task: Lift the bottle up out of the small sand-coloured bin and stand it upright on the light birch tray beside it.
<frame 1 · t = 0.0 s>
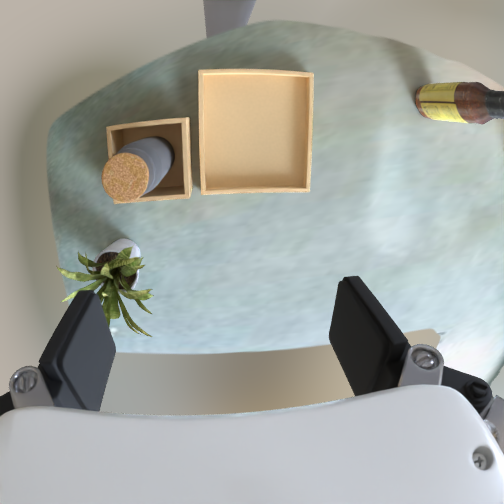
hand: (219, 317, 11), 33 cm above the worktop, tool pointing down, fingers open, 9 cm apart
tray: (255, 130, 39), on the worktop
sauce bottle: (425, 100, 39), on the worktop
house plant: (130, 259, 45), on the worktop
bottle: (154, 156, 38), resting on bin
bin: (155, 155, 39), on the worktop
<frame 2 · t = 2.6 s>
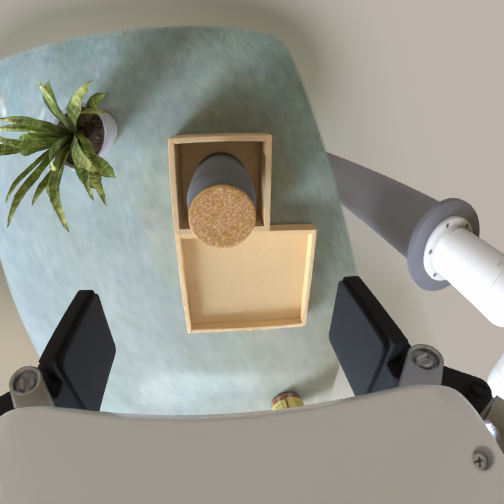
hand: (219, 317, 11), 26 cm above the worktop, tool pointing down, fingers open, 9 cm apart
tray: (245, 278, 41), on the worktop
sauce bottle: (286, 398, 54), on the worktop
house plant: (90, 138, 30), on the worktop
bottle: (220, 175, 34), resting on bin
bin: (220, 175, 34), on the worktop
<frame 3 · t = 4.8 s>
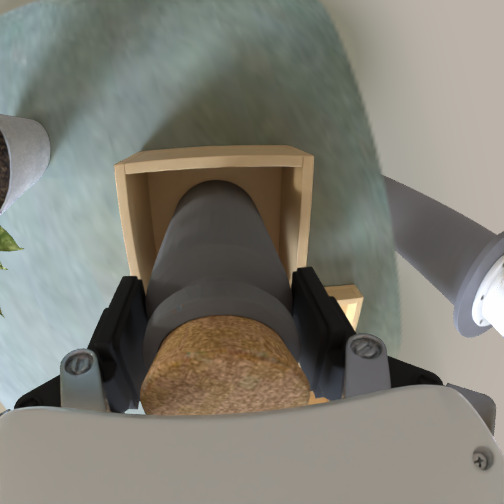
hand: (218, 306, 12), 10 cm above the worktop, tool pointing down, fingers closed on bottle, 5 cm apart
tray: (256, 357, 27), on the worktop
house plant: (16, 161, 17), on the worktop
bottle: (215, 218, 21), resting on bin, touching gripper
bin: (215, 217, 21), on the worktop
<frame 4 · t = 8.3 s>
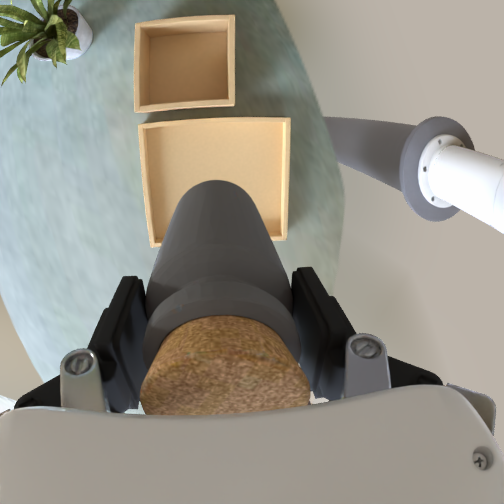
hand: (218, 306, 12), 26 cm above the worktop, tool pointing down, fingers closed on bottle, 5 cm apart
tray: (215, 179, 35), on the worktop
house plant: (67, 47, 25), on the worktop
bottle: (215, 218, 21), point 16 cm above the worktop, touching gripper
bin: (187, 68, 29), on the worktop
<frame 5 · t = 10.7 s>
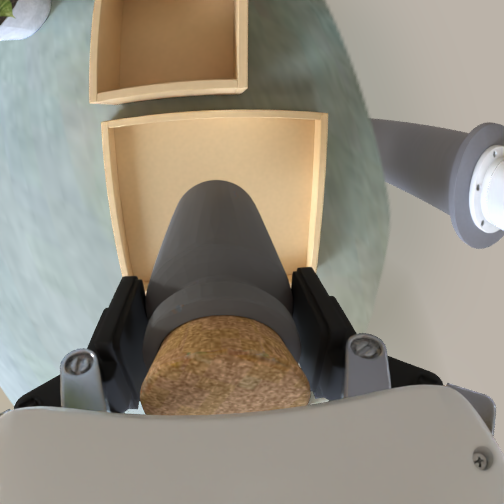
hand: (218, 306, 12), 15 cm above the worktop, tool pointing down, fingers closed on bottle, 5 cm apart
tray: (215, 201, 25), on the worktop
house plant: (20, 25, 14), on the worktop
bottle: (215, 219, 21), point 4 cm above the worktop, touching gripper
bin: (176, 39, 18), on the worktop
when the fingers open (11 cm above the worktop, at t = 12.2 s): bottle stays where it is, resting on tray.
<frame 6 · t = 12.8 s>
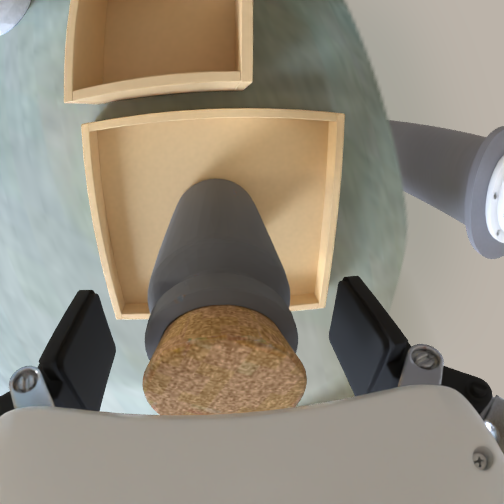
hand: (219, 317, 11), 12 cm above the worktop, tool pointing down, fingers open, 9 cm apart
tray: (214, 215, 22), on the worktop
bottle: (215, 216, 21), resting on tray
bin: (168, 27, 15), on the worktop
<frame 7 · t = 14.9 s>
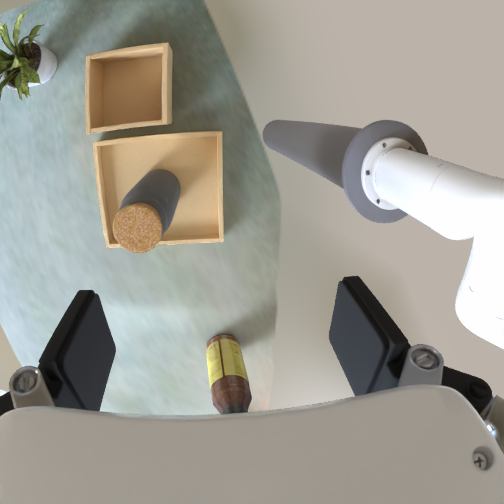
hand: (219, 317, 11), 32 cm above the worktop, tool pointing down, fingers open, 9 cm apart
tray: (160, 188, 39), on the worktop
sauce bottle: (223, 344, 53), on the worktop
house plant: (37, 73, 28), on the worktop
bottle: (160, 189, 39), resting on tray
bin: (134, 90, 33), on the worktop
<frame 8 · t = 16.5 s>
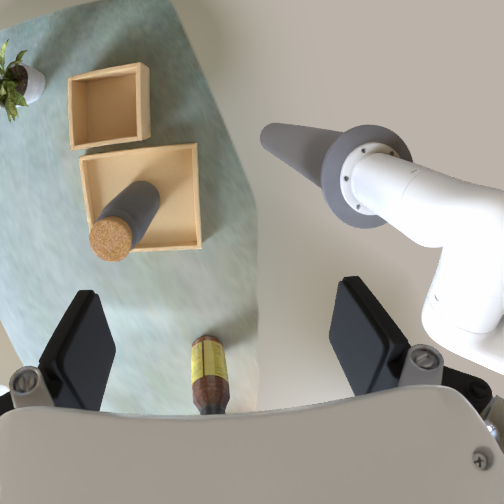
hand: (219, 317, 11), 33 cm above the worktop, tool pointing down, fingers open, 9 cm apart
tray: (141, 198, 41), on the worktop
sauce bottle: (208, 345, 55), on the worktop
house plant: (28, 92, 31), on the worktop
bottle: (141, 199, 41), resting on tray
bin: (115, 107, 35), on the worktop
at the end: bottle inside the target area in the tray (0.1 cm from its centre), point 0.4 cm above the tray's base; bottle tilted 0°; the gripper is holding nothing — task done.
